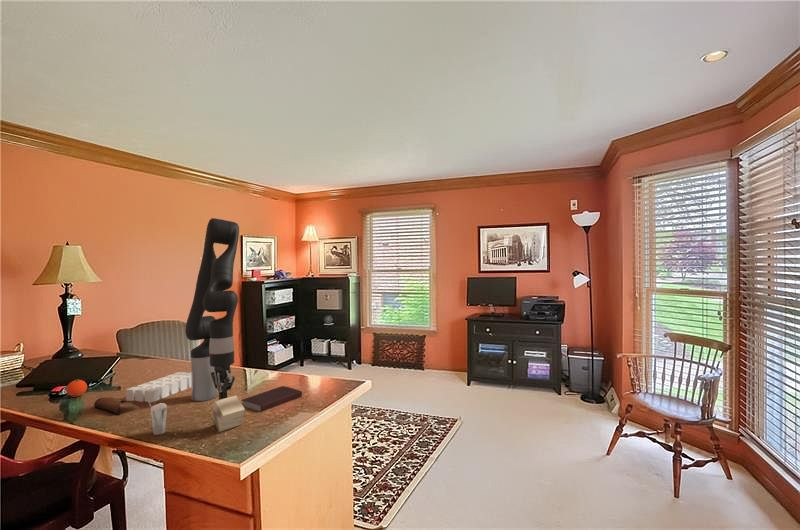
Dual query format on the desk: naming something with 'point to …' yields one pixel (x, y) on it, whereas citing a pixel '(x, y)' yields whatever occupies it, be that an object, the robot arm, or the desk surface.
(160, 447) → the desk surface
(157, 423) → the milkshake
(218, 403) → the maple block
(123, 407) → the sunglasses case
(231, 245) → the robot arm
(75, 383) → the clementine
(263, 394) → the book
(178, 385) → the organizer
